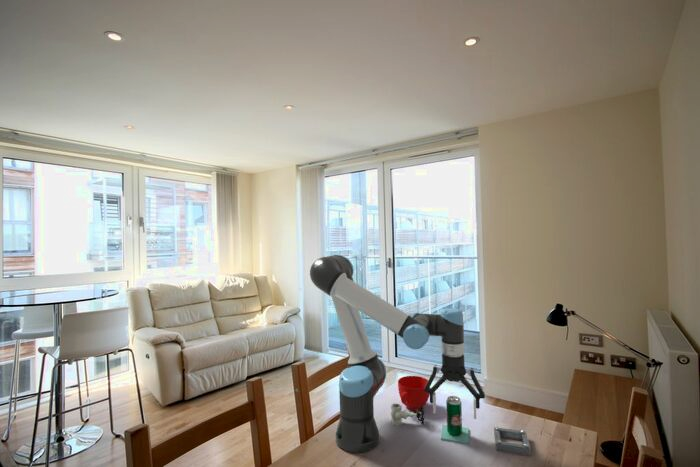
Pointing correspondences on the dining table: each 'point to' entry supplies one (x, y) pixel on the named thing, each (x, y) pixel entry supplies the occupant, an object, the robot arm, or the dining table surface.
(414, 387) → the ceramic cup
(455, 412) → the soda can
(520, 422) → the dining table surface
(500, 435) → the frame
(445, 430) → the pad
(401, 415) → the valve
